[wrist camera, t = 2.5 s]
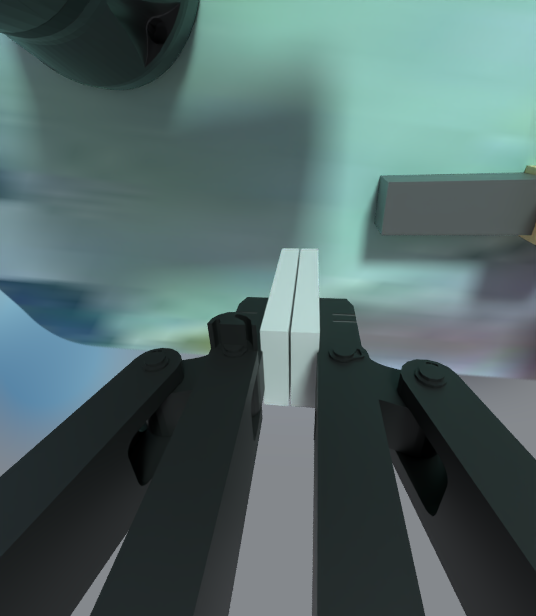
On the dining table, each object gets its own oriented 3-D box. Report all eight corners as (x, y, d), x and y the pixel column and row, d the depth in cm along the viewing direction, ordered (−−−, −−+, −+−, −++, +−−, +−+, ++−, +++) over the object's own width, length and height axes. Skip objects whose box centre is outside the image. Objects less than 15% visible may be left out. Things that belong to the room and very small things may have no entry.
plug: (381, 169, 27) (400, 182, 21) (598, 163, 25) (689, 177, 19) (373, 228, 29) (388, 256, 23) (570, 228, 27) (643, 258, 21)
